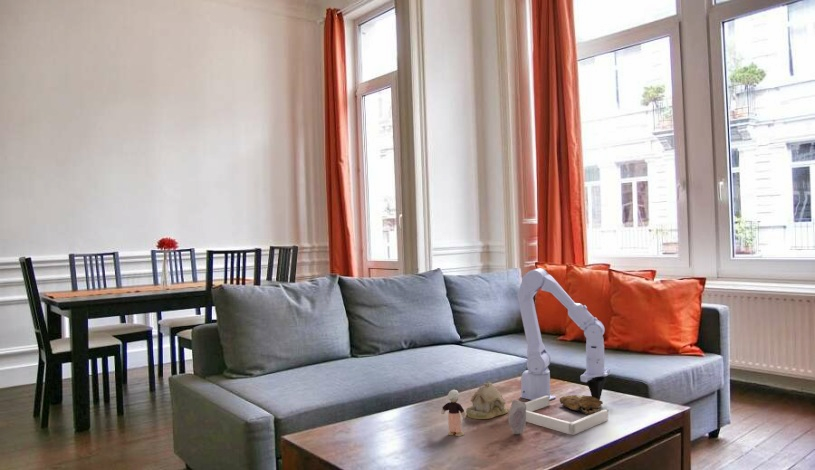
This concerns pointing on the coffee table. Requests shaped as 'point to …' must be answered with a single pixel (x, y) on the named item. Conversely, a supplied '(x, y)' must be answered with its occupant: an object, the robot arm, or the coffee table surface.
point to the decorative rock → (582, 403)
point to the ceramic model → (486, 403)
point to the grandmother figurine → (454, 413)
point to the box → (561, 424)
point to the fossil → (517, 416)
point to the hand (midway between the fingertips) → (596, 399)
